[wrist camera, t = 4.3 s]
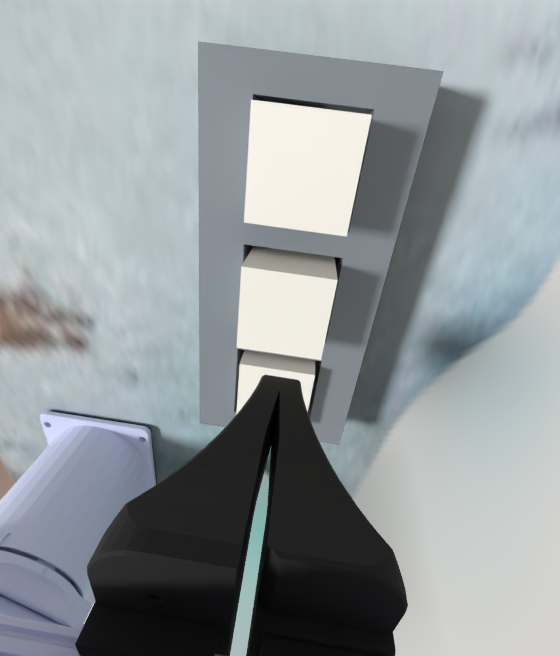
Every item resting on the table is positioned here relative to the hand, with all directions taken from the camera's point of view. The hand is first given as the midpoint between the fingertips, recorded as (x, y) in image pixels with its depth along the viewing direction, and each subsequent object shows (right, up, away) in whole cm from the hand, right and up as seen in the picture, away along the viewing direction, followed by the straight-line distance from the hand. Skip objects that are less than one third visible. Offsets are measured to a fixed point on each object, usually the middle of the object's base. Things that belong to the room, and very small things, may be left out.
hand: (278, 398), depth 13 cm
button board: (+1, +5, +6) cm, 8 cm away
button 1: (0, 0, +8) cm, 8 cm away
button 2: (+1, +9, +2) cm, 9 cm away
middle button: (0, +5, +4) cm, 6 cm away
